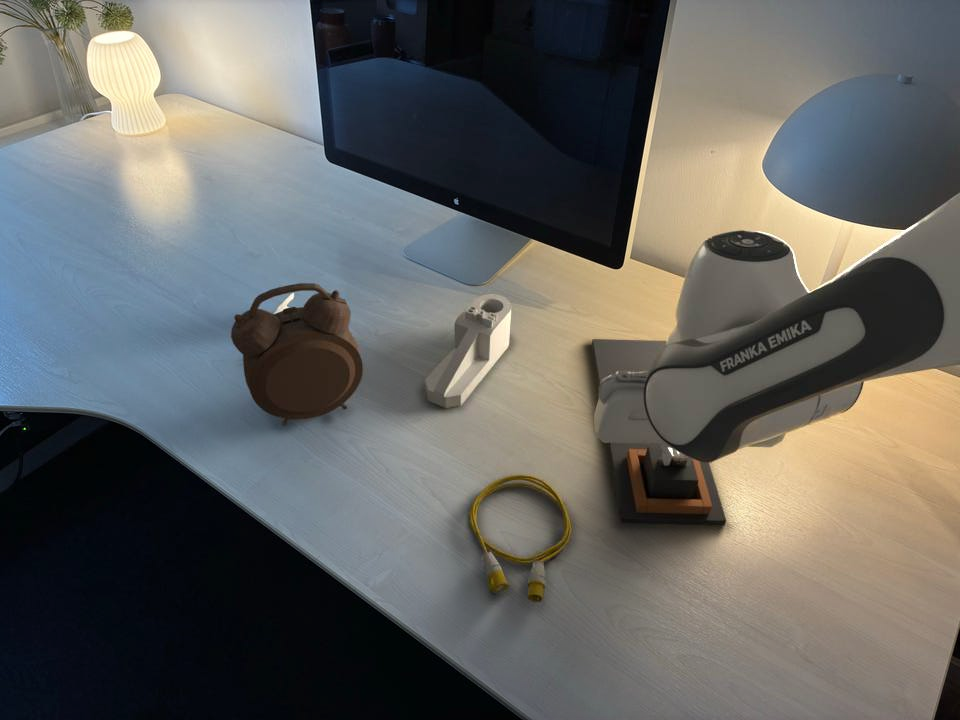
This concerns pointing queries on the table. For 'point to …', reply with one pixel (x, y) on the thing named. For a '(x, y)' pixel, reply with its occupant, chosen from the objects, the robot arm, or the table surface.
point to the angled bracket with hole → (471, 350)
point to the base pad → (631, 456)
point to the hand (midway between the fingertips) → (675, 461)
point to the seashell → (284, 304)
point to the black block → (667, 477)
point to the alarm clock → (299, 354)
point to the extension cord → (493, 567)
